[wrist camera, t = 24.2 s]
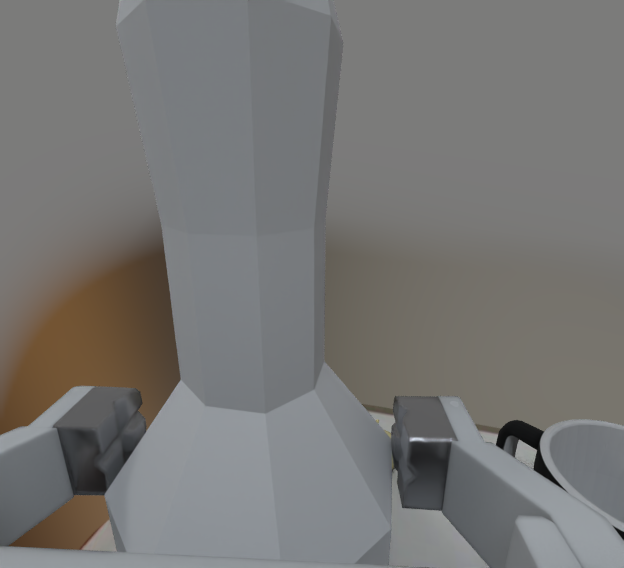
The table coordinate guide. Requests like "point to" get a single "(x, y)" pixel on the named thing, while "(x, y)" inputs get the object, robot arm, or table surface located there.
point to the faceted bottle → (247, 293)
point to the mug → (578, 461)
